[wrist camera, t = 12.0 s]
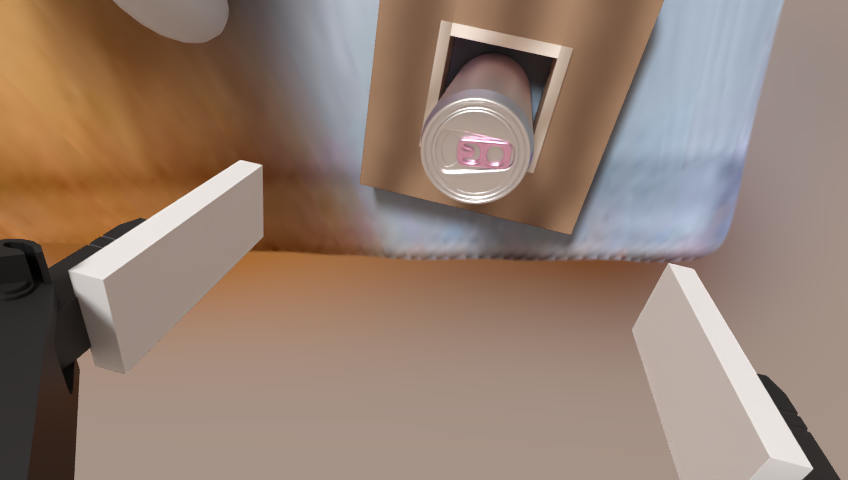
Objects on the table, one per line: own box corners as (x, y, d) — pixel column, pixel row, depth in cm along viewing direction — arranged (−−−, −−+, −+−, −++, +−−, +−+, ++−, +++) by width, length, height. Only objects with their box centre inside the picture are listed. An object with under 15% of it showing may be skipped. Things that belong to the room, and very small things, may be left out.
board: (369, 171, 41) (359, 184, 38) (398, -66, 32) (386, -70, 29) (567, 218, 40) (570, 235, 37) (656, -14, 31) (670, -14, 28)
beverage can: (524, 132, 37) (525, 213, 24) (451, 127, 38) (415, 202, 25) (535, 54, 34) (543, 98, 21) (455, 49, 35) (417, 89, 22)
